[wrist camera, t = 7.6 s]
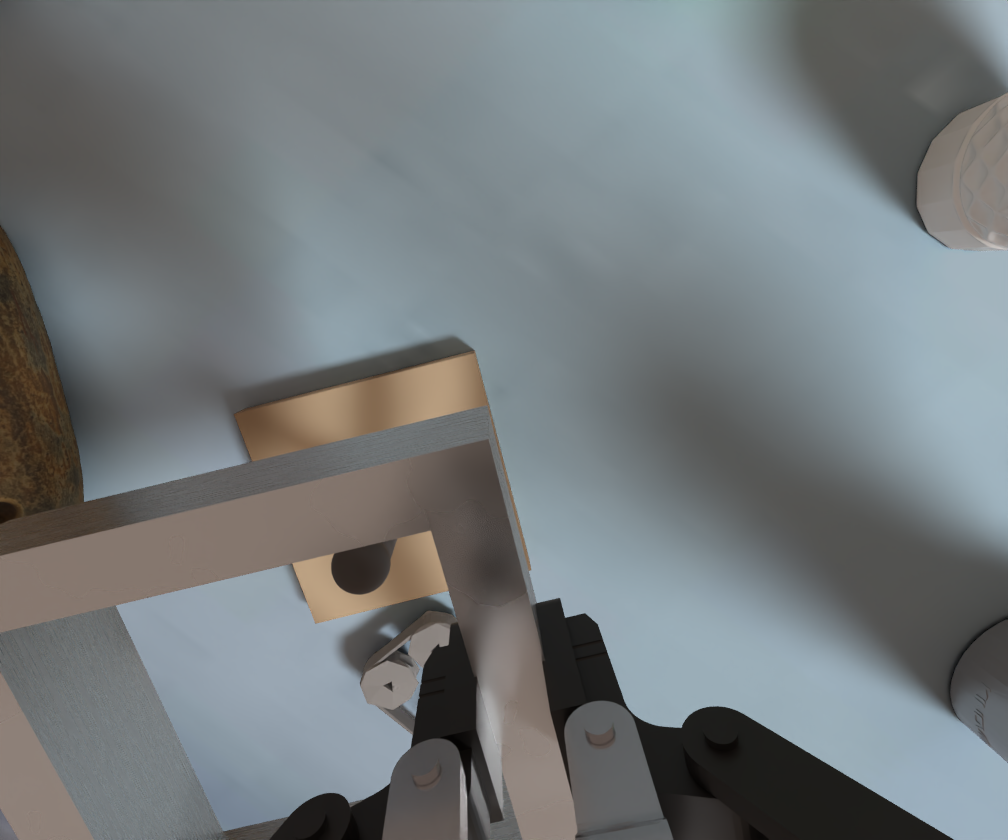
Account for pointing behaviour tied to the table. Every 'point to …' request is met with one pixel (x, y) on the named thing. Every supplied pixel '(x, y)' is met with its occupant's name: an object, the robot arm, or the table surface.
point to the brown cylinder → (31, 406)
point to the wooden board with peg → (354, 412)
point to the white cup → (968, 180)
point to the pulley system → (403, 665)
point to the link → (234, 552)
